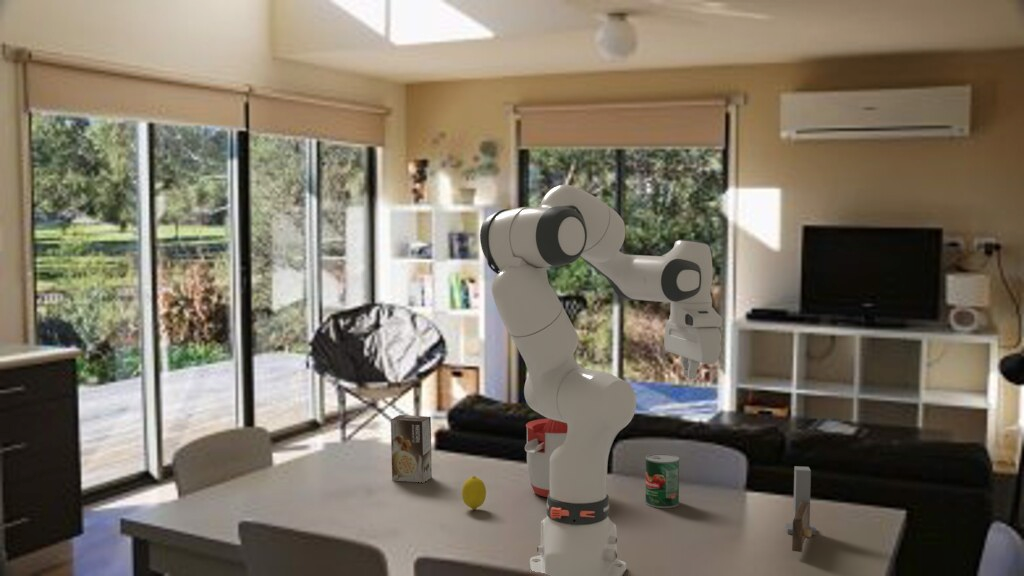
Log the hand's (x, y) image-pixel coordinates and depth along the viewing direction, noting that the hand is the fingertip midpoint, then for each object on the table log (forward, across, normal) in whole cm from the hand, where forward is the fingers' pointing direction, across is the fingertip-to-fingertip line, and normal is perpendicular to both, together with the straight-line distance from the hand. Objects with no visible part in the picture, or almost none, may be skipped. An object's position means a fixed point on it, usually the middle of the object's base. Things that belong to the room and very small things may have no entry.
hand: (689, 378), depth 210 cm
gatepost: (+33, +10, +22) cm, 41 cm away
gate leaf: (+31, +20, +17) cm, 41 cm away
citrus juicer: (+33, -31, -21) cm, 50 cm away
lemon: (+33, -23, -43) cm, 59 cm away
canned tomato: (+33, -16, +1) cm, 37 cm away
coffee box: (+33, -53, -52) cm, 82 cm away
